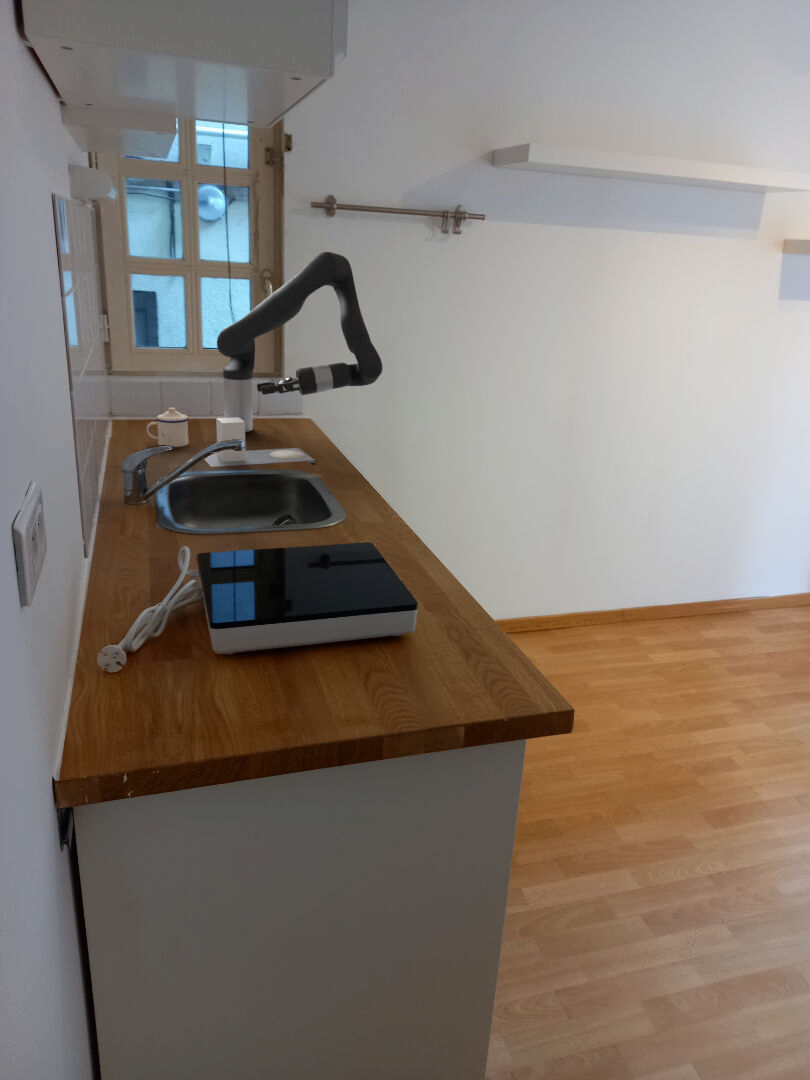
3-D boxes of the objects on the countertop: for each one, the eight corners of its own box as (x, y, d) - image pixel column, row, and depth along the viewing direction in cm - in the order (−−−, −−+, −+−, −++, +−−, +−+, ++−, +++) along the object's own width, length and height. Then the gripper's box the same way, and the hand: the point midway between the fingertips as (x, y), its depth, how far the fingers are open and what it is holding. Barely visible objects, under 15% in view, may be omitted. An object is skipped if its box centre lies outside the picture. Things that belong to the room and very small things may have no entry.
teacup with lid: (190, 443, 239) (189, 405, 235) (188, 450, 231) (186, 411, 227) (149, 442, 237) (147, 404, 233) (146, 450, 229) (143, 410, 224)
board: (199, 456, 225) (198, 452, 224) (298, 451, 238) (298, 447, 237) (211, 470, 212) (211, 466, 212) (315, 463, 225) (315, 459, 225)
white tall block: (217, 456, 223) (216, 418, 219) (239, 454, 225) (238, 417, 222) (222, 461, 217) (221, 423, 214) (245, 460, 220) (244, 422, 216)
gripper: (307, 364, 230) (253, 374, 225) (317, 368, 217) (260, 378, 213) (311, 390, 232) (258, 399, 228) (322, 395, 219) (265, 405, 215)
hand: (259, 389), depth 220 cm, fingers open, 8 cm apart
